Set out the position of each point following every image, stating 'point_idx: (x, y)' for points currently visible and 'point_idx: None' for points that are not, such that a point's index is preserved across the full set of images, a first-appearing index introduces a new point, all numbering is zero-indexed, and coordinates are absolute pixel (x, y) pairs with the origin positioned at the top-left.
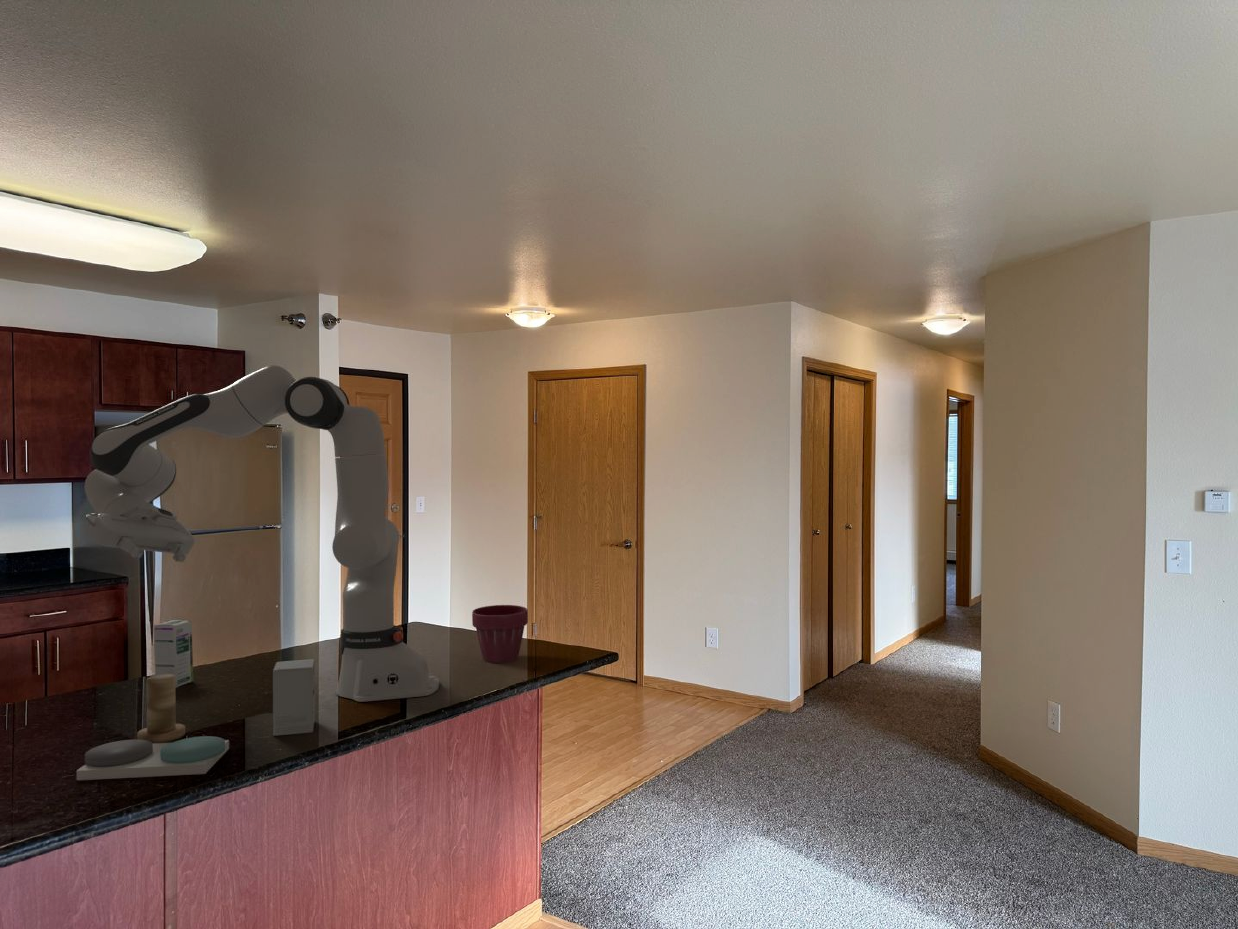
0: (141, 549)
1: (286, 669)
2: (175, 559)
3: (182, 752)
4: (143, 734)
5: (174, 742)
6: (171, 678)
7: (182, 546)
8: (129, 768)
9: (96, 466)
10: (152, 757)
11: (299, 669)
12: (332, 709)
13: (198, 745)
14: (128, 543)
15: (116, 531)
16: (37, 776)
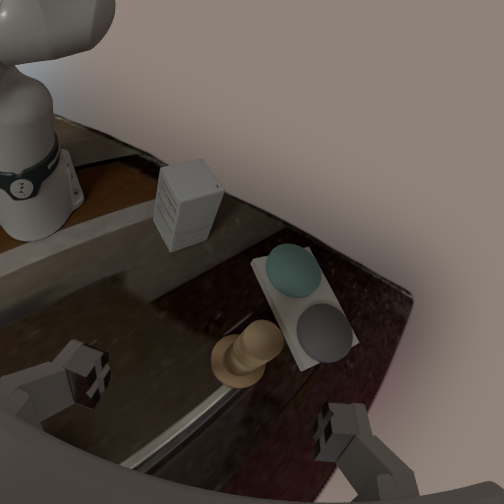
0: (336, 411)
1: (216, 178)
2: (100, 388)
3: (311, 267)
4: (258, 370)
5: (295, 291)
6: (263, 320)
7: (8, 381)
8: (338, 302)
9: None
10: (314, 300)
11: (209, 169)
12: (107, 219)
13: (293, 264)
14: (391, 458)
15: (474, 490)
16: (360, 389)
